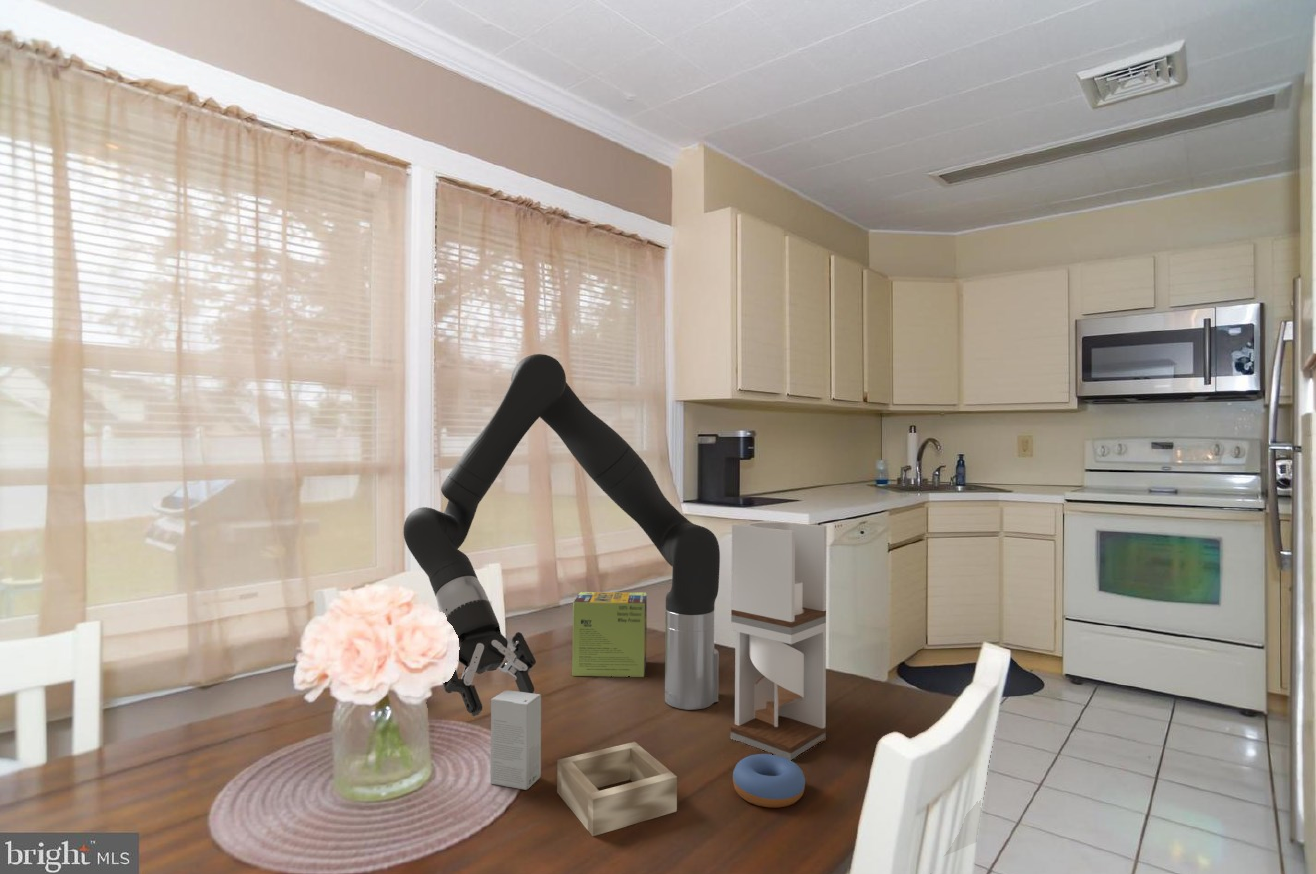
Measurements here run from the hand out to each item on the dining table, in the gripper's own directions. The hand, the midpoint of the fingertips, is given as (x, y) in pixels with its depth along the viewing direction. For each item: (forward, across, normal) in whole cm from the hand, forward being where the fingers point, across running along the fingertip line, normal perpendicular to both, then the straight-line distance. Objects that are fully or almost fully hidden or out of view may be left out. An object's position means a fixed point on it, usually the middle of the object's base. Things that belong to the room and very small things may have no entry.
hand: (504, 705), depth 99 cm
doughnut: (+28, +24, -14) cm, 39 cm away
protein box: (-11, +42, +25) cm, 50 cm away
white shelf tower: (+22, +39, -8) cm, 45 cm away
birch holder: (+19, +7, -5) cm, 21 cm away
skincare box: (+9, 0, +5) cm, 11 cm away
